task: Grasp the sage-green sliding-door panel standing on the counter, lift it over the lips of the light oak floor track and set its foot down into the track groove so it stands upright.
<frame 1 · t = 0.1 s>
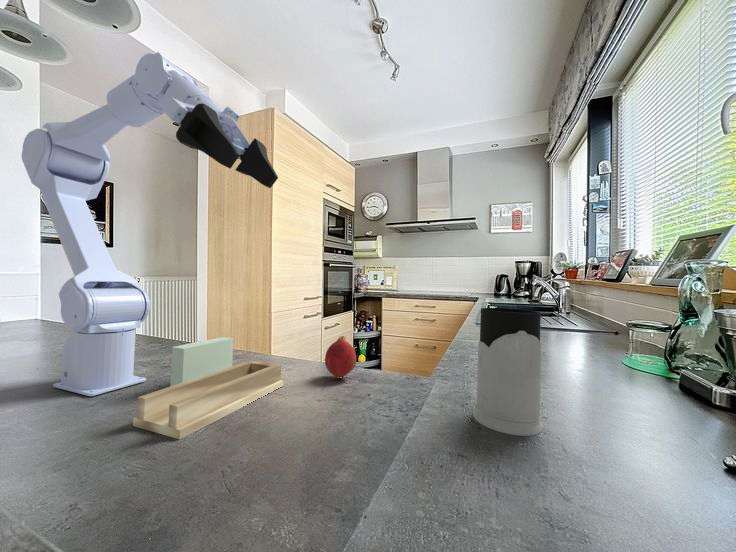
hand: (254, 172, 40), 32 cm above the countertop, tool tilted 50°, fingers open, 7 cm apart
door panel: (203, 383, 52), on the countertop
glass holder: (498, 412, 45), on the countertop
onion: (339, 380, 57), on the countertop
floor track: (221, 402, 44), on the countertop
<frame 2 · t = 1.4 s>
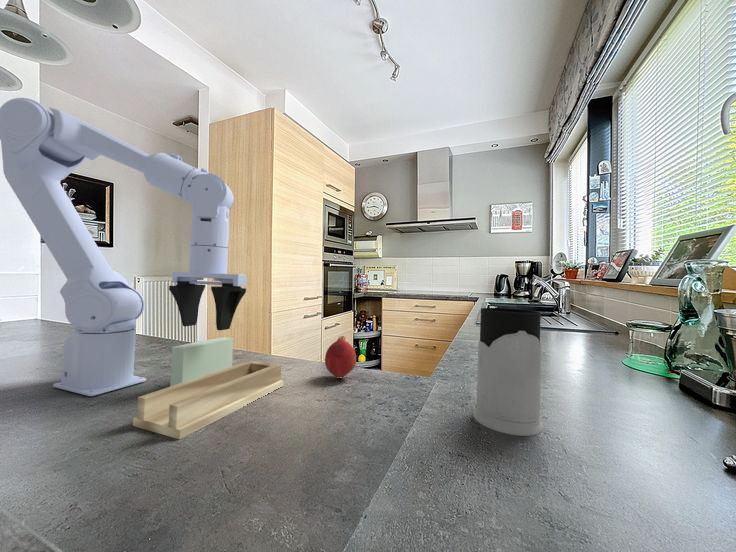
hand: (206, 327, 52), 9 cm above the countertop, tool pointing down, fingers open, 7 cm apart
nothing on the countertop moved.
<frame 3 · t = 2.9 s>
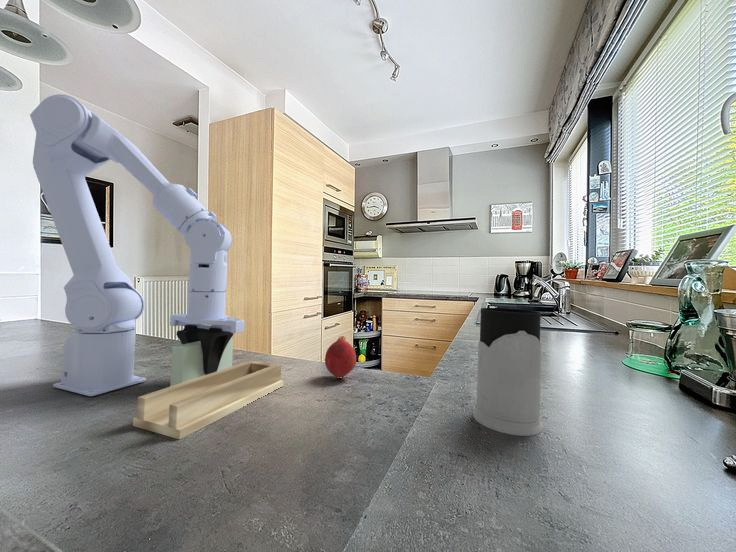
hand: (203, 371, 52), 2 cm above the countertop, tool pointing down, fingers closed on door panel, 2 cm apart
door panel: (203, 383, 52), on the countertop, touching gripper
everything else where it was.
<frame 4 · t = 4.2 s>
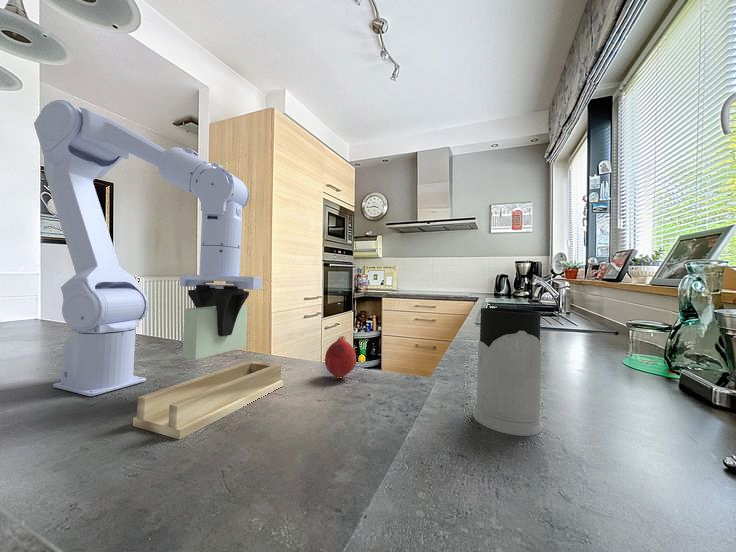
hand: (217, 334, 48), 9 cm above the countertop, tool pointing down, fingers closed on door panel, 2 cm apart
door panel: (216, 351, 48), point 6 cm above the countertop, touching gripper
everything else where it was.
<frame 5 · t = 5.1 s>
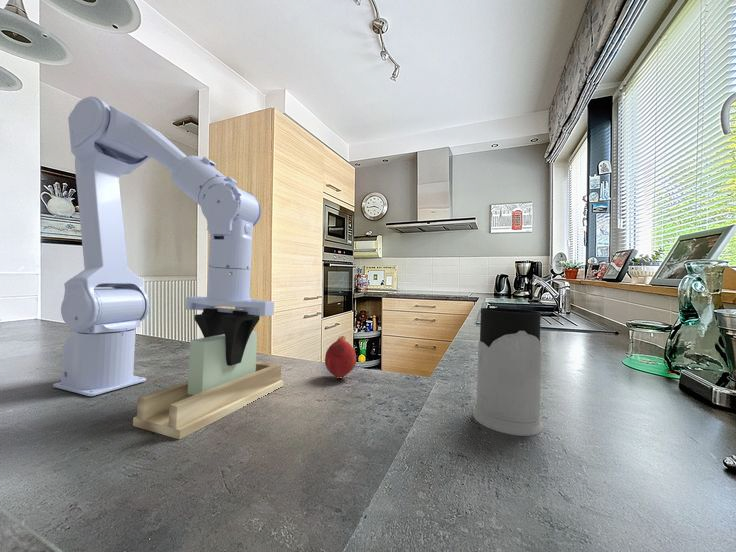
hand: (225, 362, 45), 6 cm above the countertop, tool pointing down, fingers closed on door panel, 2 cm apart
door panel: (224, 384, 45), point 3 cm above the countertop, touching gripper
everything else where it was.
when the fingers open (5 cm above the countertop, at t = 5.6 s): door panel stays where it is, resting on floor track.
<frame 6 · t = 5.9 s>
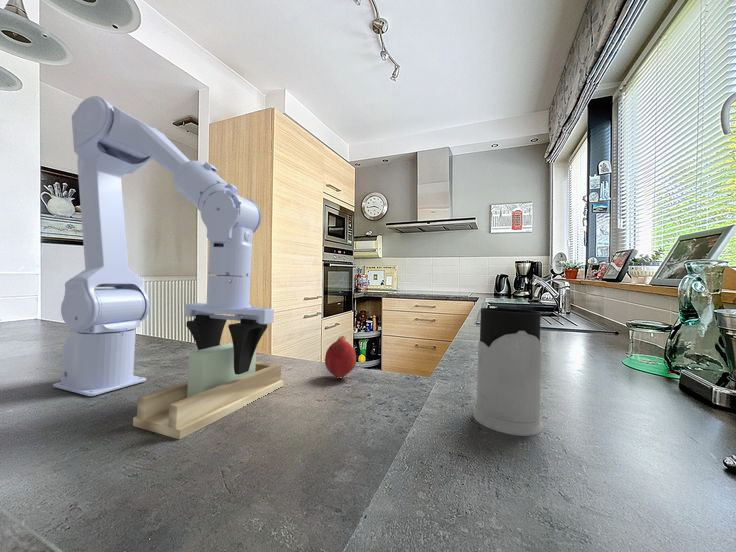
hand: (225, 369, 45), 5 cm above the countertop, tool pointing down, fingers open, 5 cm apart
door panel: (223, 394, 44), point 1 cm above the countertop, touching floor track
everything else where it was.
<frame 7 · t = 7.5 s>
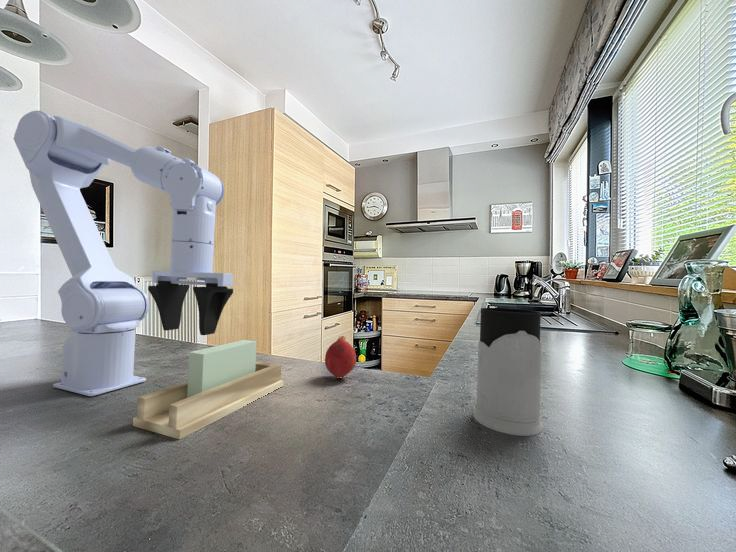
hand: (188, 331, 47), 9 cm above the countertop, tool pointing down, fingers open, 7 cm apart
nothing on the countertop moved.
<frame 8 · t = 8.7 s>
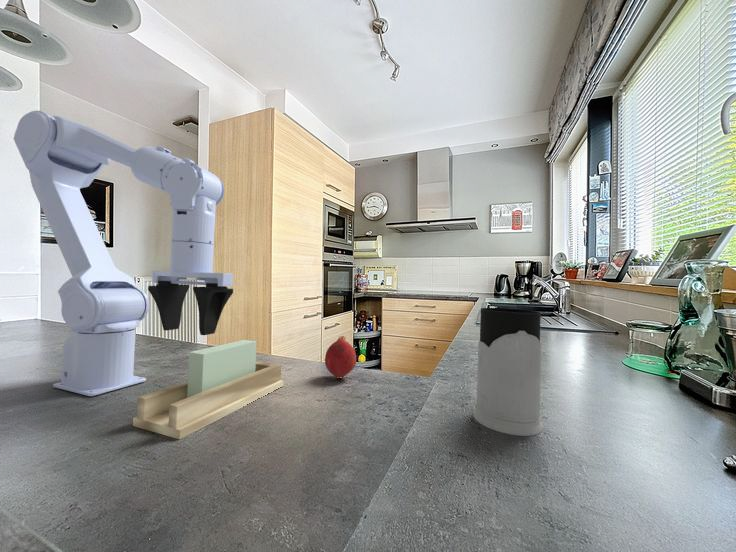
hand: (188, 331, 47), 9 cm above the countertop, tool pointing down, fingers open, 7 cm apart
nothing on the countertop moved.
at the end: door panel inside the target area on the floor track (0.4 cm from its centre), point 1.0 cm above the floor track's base; door panel tilted 0°; the gripper is holding nothing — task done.
